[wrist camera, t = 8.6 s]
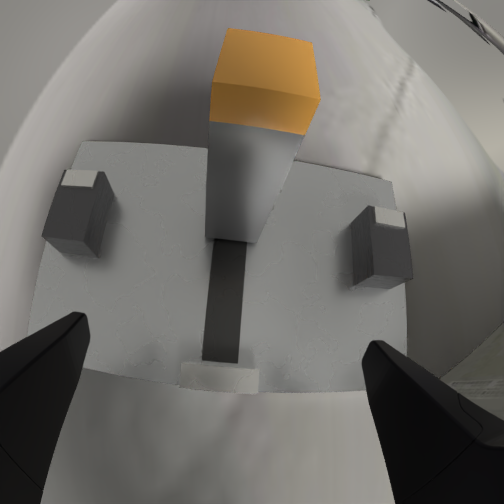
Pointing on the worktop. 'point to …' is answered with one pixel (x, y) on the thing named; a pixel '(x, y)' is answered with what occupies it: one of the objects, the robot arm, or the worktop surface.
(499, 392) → the geiger counter
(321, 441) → the worktop surface
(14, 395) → the robot arm
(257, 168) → the lever
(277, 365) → the breaker panel
